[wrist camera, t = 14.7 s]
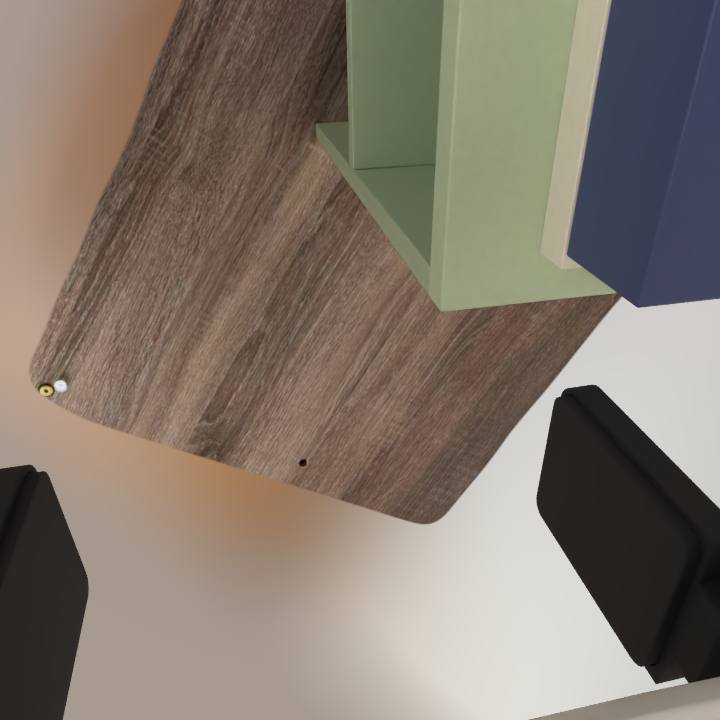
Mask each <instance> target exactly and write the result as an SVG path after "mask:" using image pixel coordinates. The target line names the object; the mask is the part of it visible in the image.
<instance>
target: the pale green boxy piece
mask: <svg viewBox="0 0 720 720" xmlns="http://www.w3.org/2000/svg"><path fill="white" fill-rule="evenodd" d="M577 4H578V0H346V32H347V78H348V122H332V123H316V138H317V140H318V141H319V143H320V144H321V145H322V147H323V148H324V150H325V151H326V152H327V154H328V155H329V157H330V158H331V159H332V161H333V162H334V164H335V165H336V166H337V168H338V169H339V171H340V172H341V173H342V175H343V176H344V178H345V179H346V180H347V182H348V183H349V185H350V186H351V187H352V189H353V190H354V192H355V193H356V194H357V196H358V197H359V199H360V200H361V201H362V203H363V204H364V206H365V207H366V208H367V210H368V211H369V213H370V214H371V215H372V217H373V218H374V220H375V221H376V222H377V224H378V225H379V226H380V228H381V229H382V231H383V232H384V233H385V235H386V236H387V238H388V239H389V240H390V242H391V243H392V245H393V246H394V247H395V249H396V250H397V252H398V253H399V254H400V256H401V257H402V259H403V260H404V261H405V263H406V264H407V266H408V267H409V268H410V270H411V271H412V273H413V274H414V275H415V277H416V278H417V280H418V281H419V282H420V284H421V285H422V287H423V288H424V289H425V291H426V292H427V294H429V296H430V297H431V299H432V300H433V302H434V303H435V304H436V306H437V307H438V309H439V310H440V311H452V310H461V309H470V308H480V307H489V306H498V305H508V304H517V303H526V302H536V301H545V300H554V299H564V298H573V297H582V296H592V295H601V294H610V293H617V292H616V291H614V290H613V289H612V288H610V287H609V286H607V285H606V284H605V283H603V282H602V281H601V280H599V279H598V278H597V277H595V276H594V275H593V274H591V273H590V272H588V271H587V270H586V269H584V268H583V267H582V268H572V269H560V268H558V267H557V266H556V265H554V264H553V263H552V262H551V261H549V260H548V259H547V258H546V257H544V256H543V255H542V254H541V253H540V248H541V241H542V235H543V228H544V221H545V215H546V208H547V202H548V195H549V188H550V182H551V175H552V169H553V162H554V155H555V149H556V142H557V136H558V129H559V122H560V116H561V109H562V103H563V96H564V89H565V83H566V76H567V70H568V63H569V56H570V50H571V43H572V37H573V30H574V23H575V17H576V10H577Z"/></svg>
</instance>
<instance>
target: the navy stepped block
mask: <svg viewBox="0 0 720 720" xmlns="http://www.w3.org/2000/svg"><path fill="white" fill-rule="evenodd" d="M540 253H541V254H542V255H543V256H544V257H546V258H547V259H548V260H549V261H551V262H552V263H553V264H554V265H556V266H557V267H558V268H560V269H572V268H582V267H583V268H584V269H586V270H587V271H588V272H590V273H591V274H593V275H594V276H595V277H597V278H598V279H599V280H601V281H602V282H603V283H605V284H606V285H607V286H609V287H610V288H612V289H613V290H614V291H616V292H617V293H618V294H620V295H621V296H622V297H624V298H625V299H627V300H628V301H629V302H631V303H632V304H633V305H635V306H636V307H638V308H640V307H649V306H658V305H667V304H675V303H684V302H694V301H702V300H711V299H719V298H720V0H578V4H577V10H576V17H575V23H574V30H573V37H572V43H571V50H570V56H569V63H568V70H567V76H566V83H565V89H564V96H563V103H562V109H561V116H560V122H559V129H558V136H557V142H556V149H555V155H554V162H553V169H552V175H551V182H550V188H549V195H548V202H547V208H546V215H545V221H544V228H543V235H542V241H541V248H540Z"/></svg>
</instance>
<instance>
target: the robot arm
mask: <svg viewBox="0 0 720 720" xmlns="http://www.w3.org/2000/svg"><path fill="white" fill-rule="evenodd" d="M537 507H538V510H539V513H540V515H541V517H542V518H543V520H544V521H545V523H546V525H547V526H548V528H549V529H550V531H551V533H552V534H553V536H554V537H555V539H556V540H557V542H558V543H559V545H560V546H561V548H562V550H563V551H564V553H565V555H566V556H567V558H568V559H569V561H570V562H571V564H572V566H573V567H574V569H575V570H576V572H577V574H578V575H579V576H580V578H581V580H582V581H583V583H584V584H585V586H586V588H587V589H588V591H589V592H590V594H591V596H592V597H593V599H594V600H595V602H596V603H597V605H598V607H599V608H600V610H601V611H602V613H603V614H604V616H605V618H606V619H607V621H608V622H609V624H610V626H611V627H612V629H613V630H614V632H615V633H616V635H617V637H618V638H619V640H620V641H621V643H622V645H623V646H624V648H625V649H626V651H627V652H628V654H629V656H630V657H631V658H632V660H633V661H634V662H635V663H636V664H637V665H638V666H641V667H642V666H645V668H646V669H647V671H648V673H649V674H650V676H651V677H652V679H653V680H654V682H655V683H656V684H658V683H663V682H666V681H671V680H674V679H679V678H683V677H685V678H686V680H687V681H688V684H684V685H679V686H674V687H670V688H665V689H660V690H656V691H651V692H646V693H642V694H637V695H633V696H629V697H624V698H620V699H616V700H612V701H607V702H603V703H599V704H594V705H590V706H586V707H582V708H578V709H573V710H569V711H565V712H560V713H556V714H552V715H548V716H543V717H539V718H535V719H530V720H720V509H719V508H718V507H717V506H716V505H715V504H714V503H713V502H712V501H711V500H710V499H709V498H708V497H707V496H706V495H705V494H704V493H703V492H702V491H701V489H700V488H699V487H698V486H696V485H695V483H694V482H692V480H691V479H689V477H688V476H687V475H686V474H685V473H684V472H682V470H681V469H680V468H679V467H678V466H677V465H676V464H675V463H674V462H673V461H672V460H671V459H670V458H669V457H668V456H667V455H666V454H665V453H664V452H663V451H662V450H661V449H660V448H659V447H658V446H657V445H656V444H655V443H654V442H653V441H652V440H651V439H650V438H649V437H648V436H647V435H646V434H645V433H644V432H643V431H642V430H641V429H640V428H639V427H638V426H637V425H636V424H635V423H634V422H633V421H632V420H631V419H630V418H629V417H628V416H627V415H626V414H625V413H624V412H623V411H622V410H621V409H620V408H619V407H618V406H617V405H616V404H615V403H614V402H613V401H612V400H611V399H610V398H609V397H608V396H607V395H606V394H605V393H604V392H603V391H602V390H601V389H600V388H599V387H597V386H596V385H587V386H580V387H573V388H567V389H565V390H564V391H563V392H562V395H561V397H558V398H556V400H555V402H554V406H553V411H552V417H551V423H550V427H549V433H548V439H547V444H546V449H545V455H544V460H543V465H542V470H541V476H540V481H539V487H538V492H537ZM87 599H88V578H87V575H86V572H85V569H84V566H83V564H82V561H81V559H80V556H79V553H78V551H77V548H76V546H75V543H74V540H73V538H72V535H71V533H70V530H69V528H68V525H67V522H66V519H65V517H64V514H63V512H62V509H61V506H60V504H59V501H58V499H57V496H56V494H55V491H54V488H53V486H52V483H51V481H50V478H49V476H48V474H47V473H46V472H44V471H43V472H37V471H36V469H35V468H34V467H33V466H32V465H24V466H17V467H10V468H3V469H0V720H63V715H64V711H65V706H66V701H67V695H68V690H69V686H70V681H71V677H72V672H73V667H74V662H75V657H76V652H77V647H78V643H79V638H80V633H81V627H82V623H83V618H84V613H85V608H86V604H87Z"/></svg>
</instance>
